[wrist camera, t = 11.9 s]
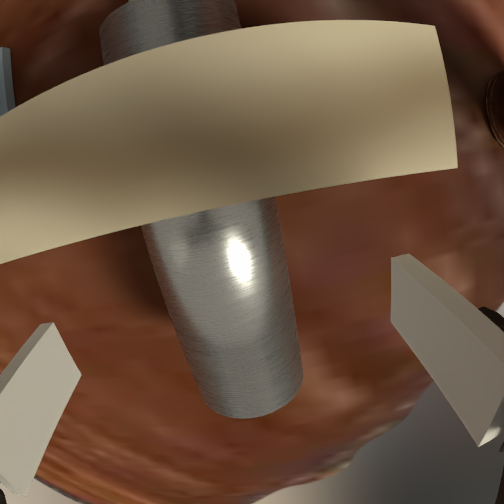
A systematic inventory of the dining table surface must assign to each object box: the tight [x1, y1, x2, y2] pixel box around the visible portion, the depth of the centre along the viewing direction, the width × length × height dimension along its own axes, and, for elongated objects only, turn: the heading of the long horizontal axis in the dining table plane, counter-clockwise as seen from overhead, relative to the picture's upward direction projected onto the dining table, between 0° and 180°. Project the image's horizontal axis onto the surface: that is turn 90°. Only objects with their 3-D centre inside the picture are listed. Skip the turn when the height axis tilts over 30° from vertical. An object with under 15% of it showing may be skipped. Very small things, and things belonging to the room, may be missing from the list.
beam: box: [0, 0, 458, 264], centre depth 12 cm, size 33×18×10 cm, turn 11°
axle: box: [99, 0, 303, 418], centre depth 14 cm, size 19×6×6 cm, turn 11°
